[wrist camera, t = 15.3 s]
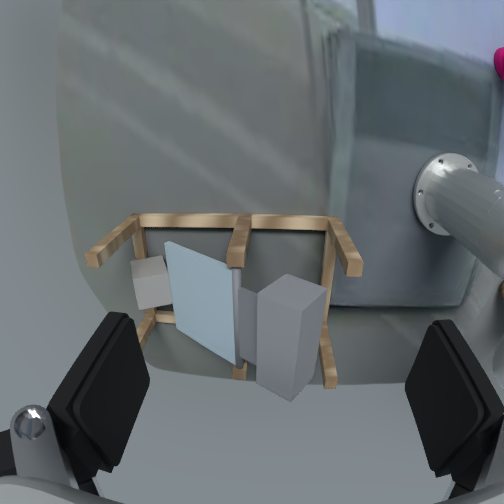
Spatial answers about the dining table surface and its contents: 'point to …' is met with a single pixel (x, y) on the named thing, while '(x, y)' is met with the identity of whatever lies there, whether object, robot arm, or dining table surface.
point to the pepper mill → (499, 62)
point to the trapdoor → (249, 318)
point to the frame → (239, 260)
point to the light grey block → (151, 282)
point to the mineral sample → (502, 289)
